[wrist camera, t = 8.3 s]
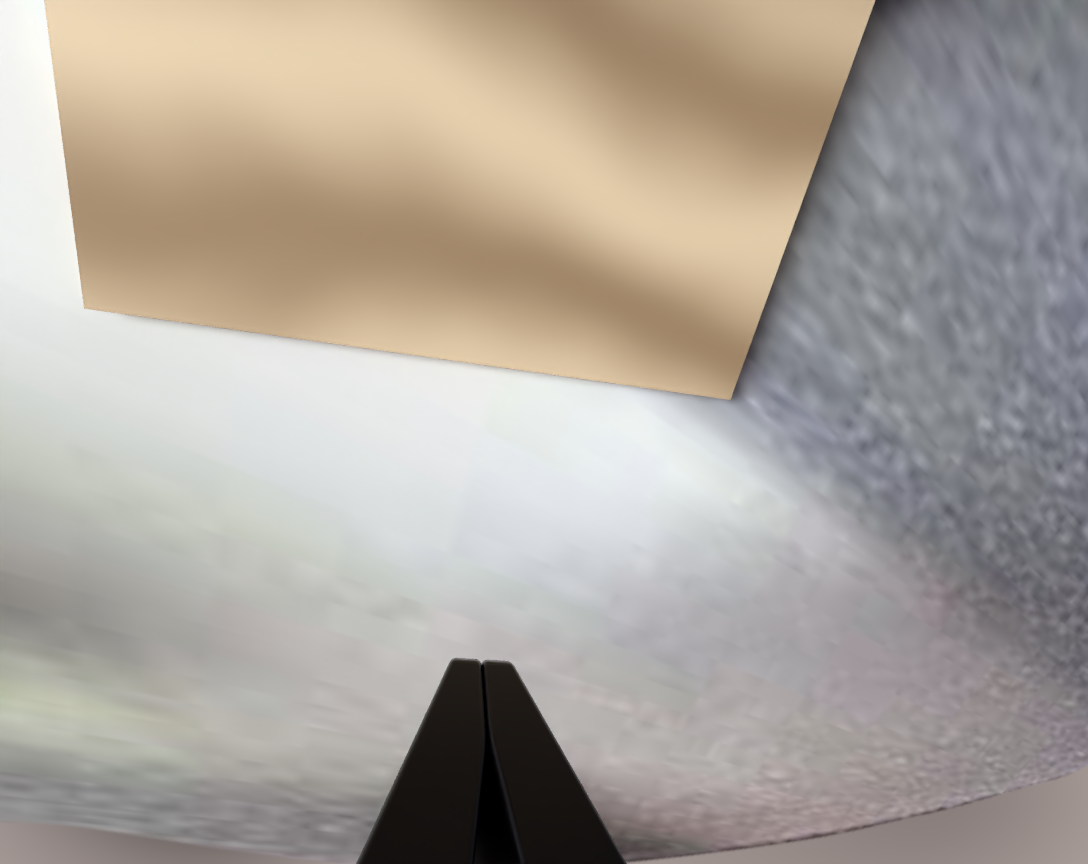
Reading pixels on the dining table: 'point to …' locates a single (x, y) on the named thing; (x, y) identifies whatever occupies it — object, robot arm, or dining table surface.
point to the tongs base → (452, 171)
